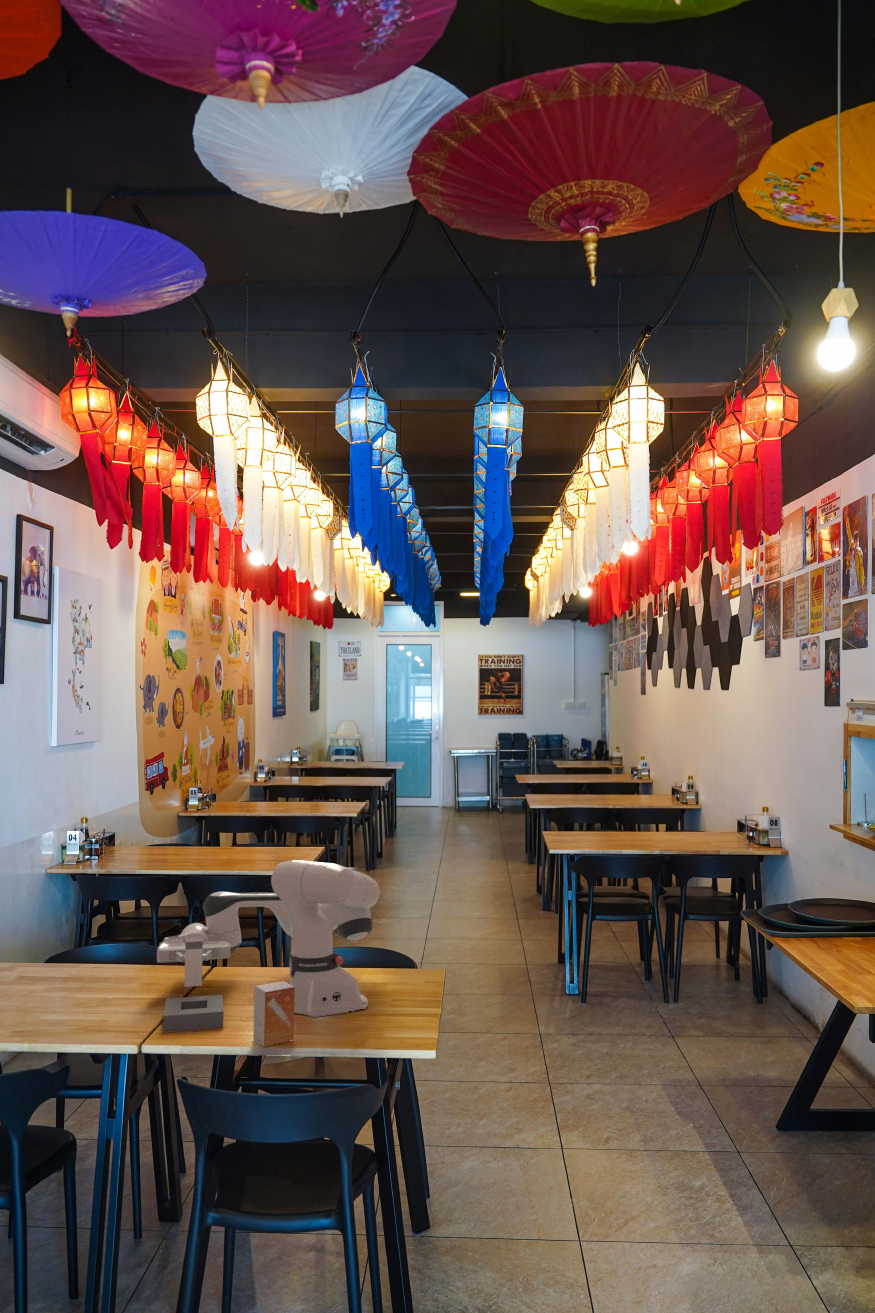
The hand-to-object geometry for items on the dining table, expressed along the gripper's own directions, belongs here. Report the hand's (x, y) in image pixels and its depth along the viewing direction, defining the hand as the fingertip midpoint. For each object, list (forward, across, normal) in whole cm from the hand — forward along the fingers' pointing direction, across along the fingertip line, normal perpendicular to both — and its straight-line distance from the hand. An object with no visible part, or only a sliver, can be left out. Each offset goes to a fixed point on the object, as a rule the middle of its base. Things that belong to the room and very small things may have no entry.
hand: (193, 958), depth 246 cm
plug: (-1, 0, -7) cm, 7 cm away
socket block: (+15, 0, -12) cm, 19 cm away
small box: (+35, -20, -12) cm, 42 cm away
